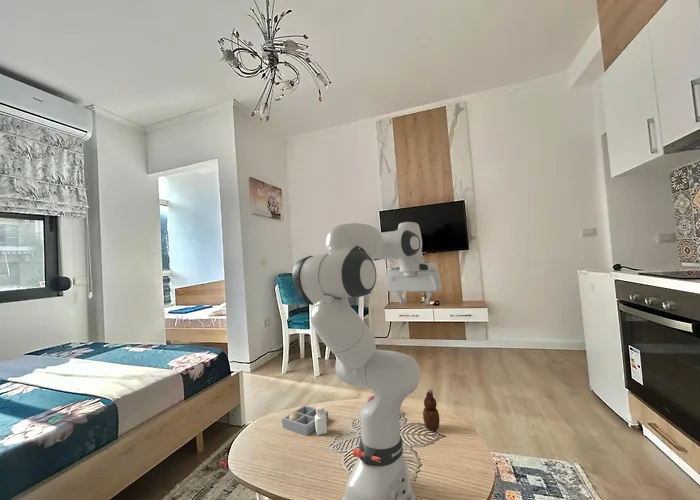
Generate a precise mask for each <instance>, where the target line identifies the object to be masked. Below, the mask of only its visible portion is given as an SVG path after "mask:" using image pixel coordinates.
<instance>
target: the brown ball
mask: <svg viewBox="0 0 700 500" xmlns="http://www.w3.org/2000/svg"><path fill="white" fill-rule="evenodd" d="M292 412H293V413H292ZM292 412H291V414H290V413H289V414H290V416H289V419H290V420H293V421H296V420H297V419H299V418H300V414H299V413H297V412H294V411H292Z"/></svg>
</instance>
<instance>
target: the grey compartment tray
mask: <svg viewBox="0 0 700 500" xmlns="http://www.w3.org/2000/svg"><path fill="white" fill-rule="evenodd" d="M293 412H297V413H299V414H300V418H299V419H297V420H296V421H293V420H290V419H289V416H290V414H291V413H293ZM291 413H289V414H286V415H285V416H284V417H282V418H281V422H282V423H281V425H282V428H283V429H286V430H287V431H288V430H289V431H292V432H295V433H298V434H300V435H303V436H306V437H307V436H309V435H310V434H312V433H313V432H315V431H316V428H315V415H316V407H313V406H309V405H307V404H303V405H302V406H301V407H299V408H298V409H296V410H294V411H292V412H291ZM324 414H325V415H326V422H328V421H329V411H327V410H324Z"/></svg>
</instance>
